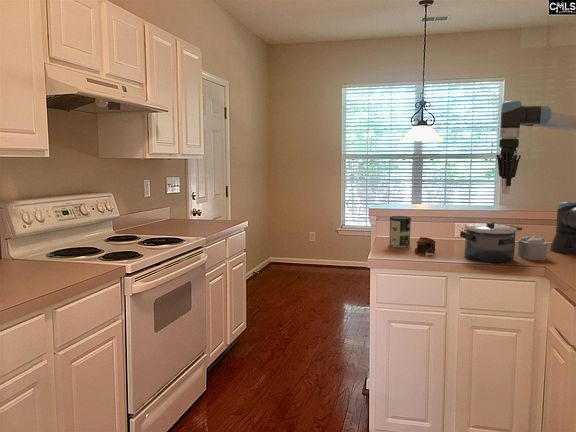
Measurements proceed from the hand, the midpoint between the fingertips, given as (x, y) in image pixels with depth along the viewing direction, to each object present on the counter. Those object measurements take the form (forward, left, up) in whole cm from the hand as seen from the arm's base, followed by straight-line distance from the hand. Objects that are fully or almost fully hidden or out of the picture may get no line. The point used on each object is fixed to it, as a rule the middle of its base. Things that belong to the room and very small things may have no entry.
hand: (505, 193), depth 208 cm
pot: (+8, 0, -28) cm, 29 cm away
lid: (+5, 0, -16) cm, 17 cm away
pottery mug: (+28, -16, -29) cm, 43 cm away
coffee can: (+33, -34, -29) cm, 55 cm away
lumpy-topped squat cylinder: (-14, +1, -29) cm, 32 cm away
